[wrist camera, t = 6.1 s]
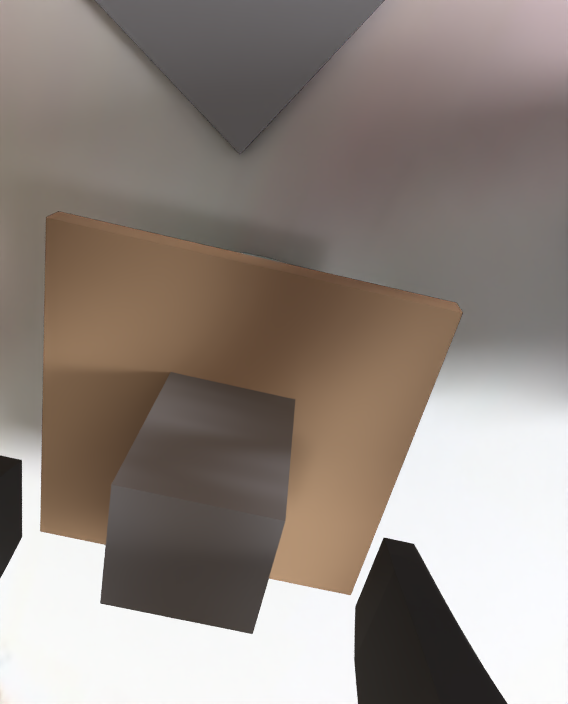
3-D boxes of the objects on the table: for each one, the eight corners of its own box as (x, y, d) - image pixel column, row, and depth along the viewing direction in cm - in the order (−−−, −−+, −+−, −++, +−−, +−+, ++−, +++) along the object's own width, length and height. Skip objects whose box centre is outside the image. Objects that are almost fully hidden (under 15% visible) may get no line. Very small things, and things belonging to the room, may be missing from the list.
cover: (456, 302, 12) (525, 414, 8) (349, 578, 16) (359, 747, 12) (58, 211, 12) (-84, 278, 8) (49, 516, 16) (-47, 669, 12)
